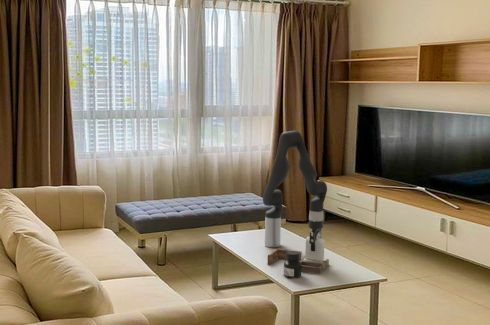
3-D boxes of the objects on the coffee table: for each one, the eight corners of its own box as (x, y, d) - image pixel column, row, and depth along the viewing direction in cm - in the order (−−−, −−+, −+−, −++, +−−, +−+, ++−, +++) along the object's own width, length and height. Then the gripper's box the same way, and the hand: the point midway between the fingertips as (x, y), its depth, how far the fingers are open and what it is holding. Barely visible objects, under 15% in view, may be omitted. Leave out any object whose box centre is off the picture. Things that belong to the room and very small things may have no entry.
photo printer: (325, 260, 313) (325, 237, 312) (321, 262, 310) (322, 239, 308) (307, 256, 319) (308, 234, 317) (303, 258, 315) (304, 236, 313)
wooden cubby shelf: (276, 257, 328) (276, 248, 327) (301, 260, 322) (301, 251, 322) (267, 264, 315) (267, 255, 314) (293, 267, 310) (293, 258, 309)
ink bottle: (280, 273, 300) (280, 250, 298) (295, 271, 304) (296, 249, 302) (289, 280, 291) (289, 256, 290) (305, 277, 295) (305, 254, 293)
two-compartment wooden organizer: (305, 261, 321) (305, 255, 321) (328, 264, 316) (328, 258, 316) (295, 270, 306) (295, 264, 305) (320, 274, 301) (320, 267, 300)
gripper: (312, 215, 319) (311, 244, 321) (305, 221, 306) (304, 251, 308) (326, 216, 316) (325, 246, 318) (319, 222, 303) (318, 253, 305)
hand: (315, 248), depth 313 cm, fingers open, 8 cm apart
